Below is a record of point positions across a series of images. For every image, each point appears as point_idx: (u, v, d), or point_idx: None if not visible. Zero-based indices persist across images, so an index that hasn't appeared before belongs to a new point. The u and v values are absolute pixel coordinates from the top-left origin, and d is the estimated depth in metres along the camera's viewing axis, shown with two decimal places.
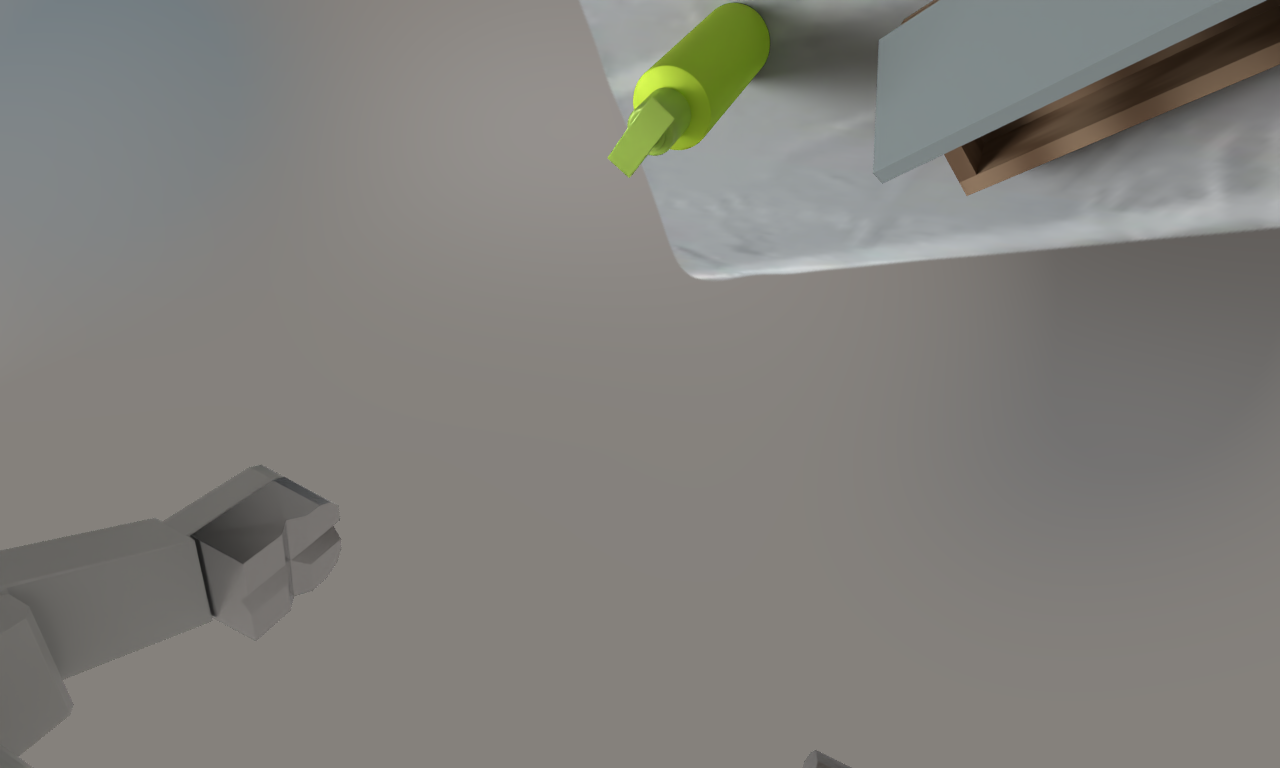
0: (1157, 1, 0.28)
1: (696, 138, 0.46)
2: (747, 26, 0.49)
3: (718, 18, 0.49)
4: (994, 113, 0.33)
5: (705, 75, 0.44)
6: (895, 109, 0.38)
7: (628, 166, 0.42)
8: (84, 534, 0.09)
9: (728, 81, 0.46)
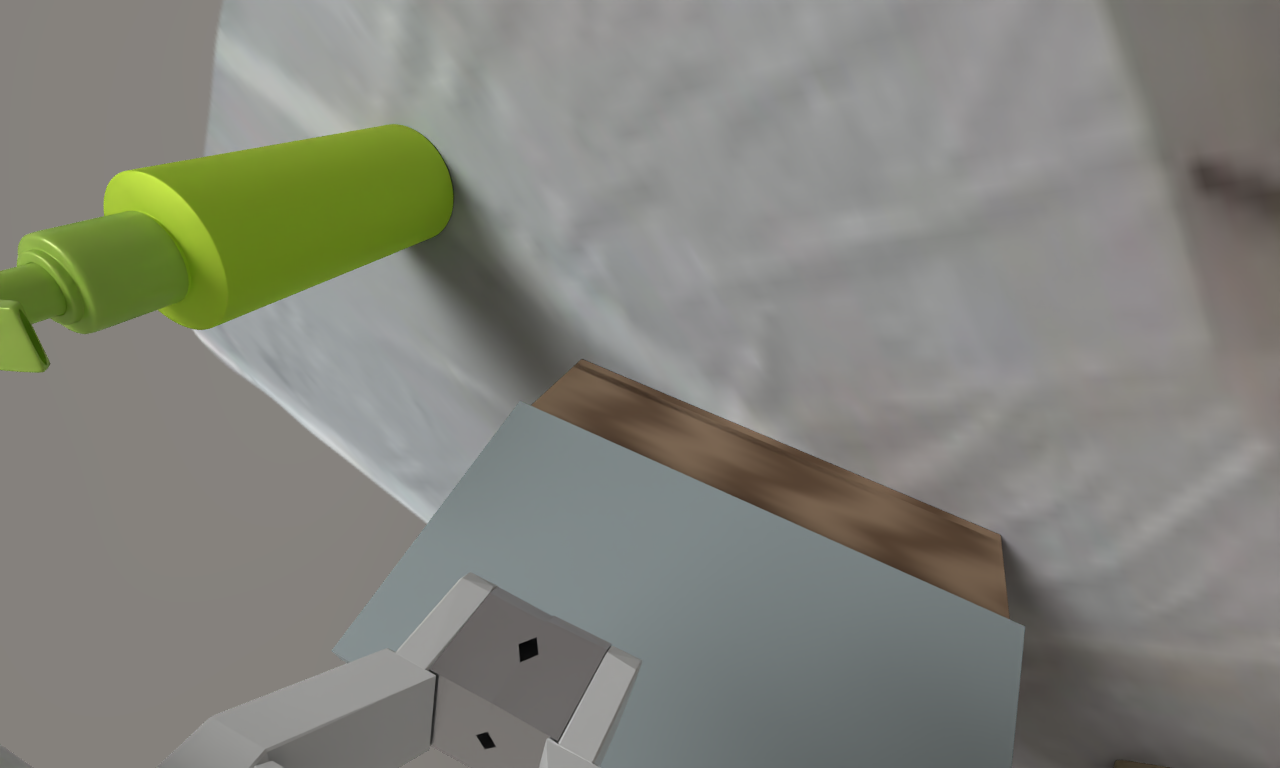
0: None
1: (182, 320, 0.25)
2: (417, 203, 0.31)
3: (384, 161, 0.29)
4: None
5: (253, 264, 0.24)
6: (440, 558, 0.24)
7: None
8: (324, 674, 0.08)
9: (308, 276, 0.27)
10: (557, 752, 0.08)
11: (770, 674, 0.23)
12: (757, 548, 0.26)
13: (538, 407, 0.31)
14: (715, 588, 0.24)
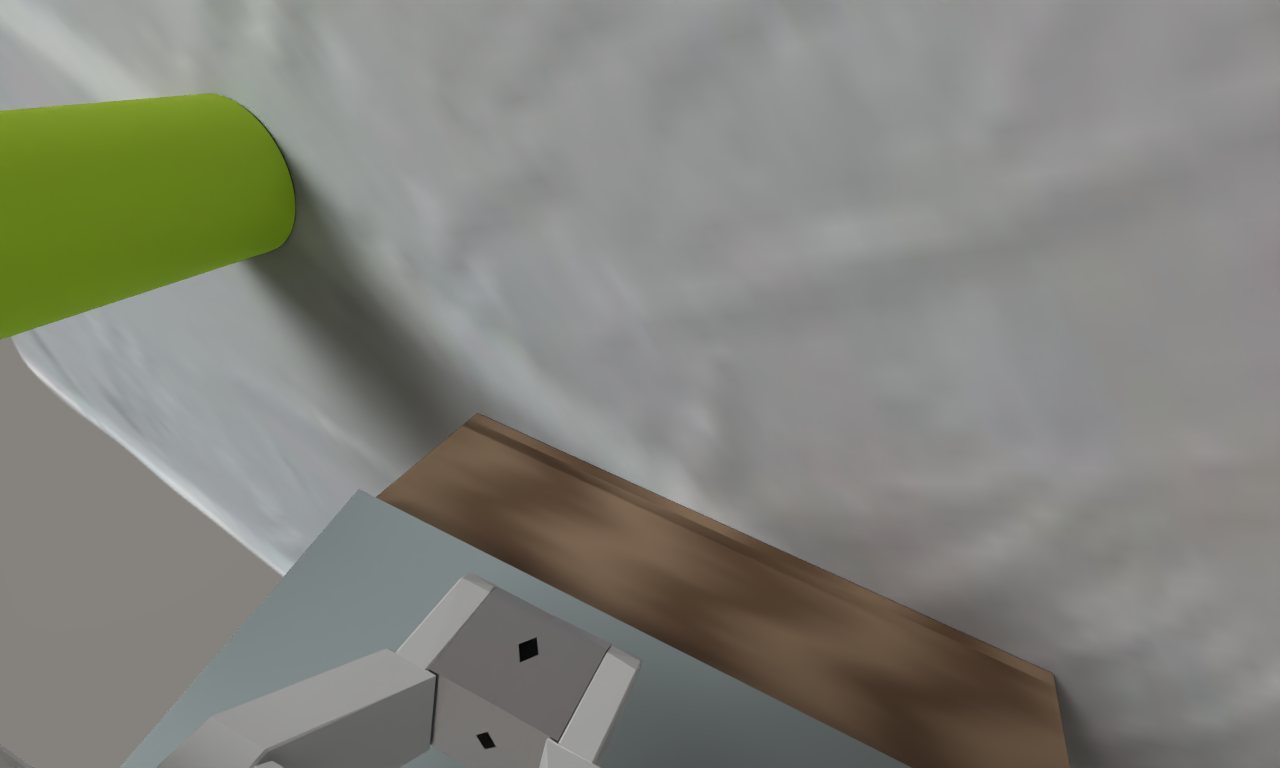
0: None
1: None
2: (225, 203, 0.22)
3: (165, 141, 0.20)
4: None
5: None
6: None
7: None
8: (324, 675, 0.08)
9: (13, 312, 0.17)
10: (557, 752, 0.08)
11: None
12: (694, 734, 0.17)
13: (395, 492, 0.21)
14: None
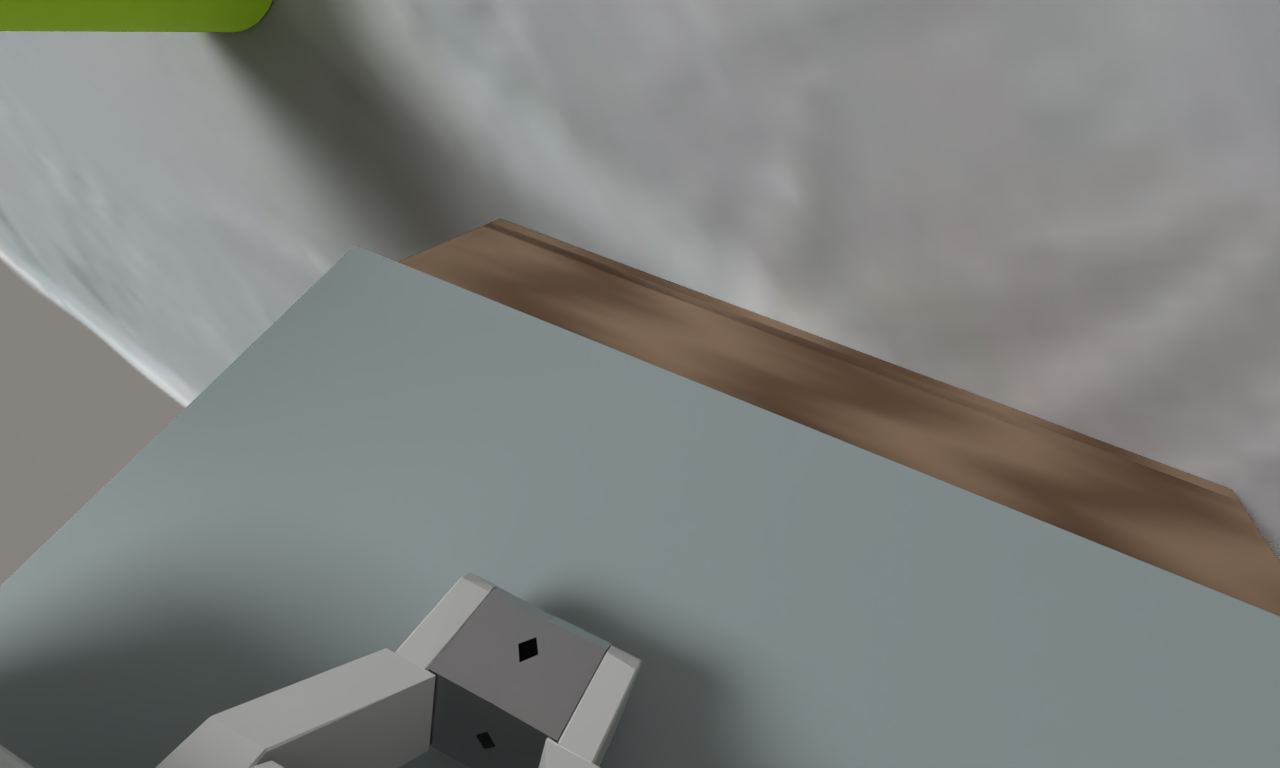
0: None
1: None
2: None
3: None
4: None
5: None
6: (128, 545, 0.11)
7: None
8: (324, 675, 0.08)
9: None
10: (557, 752, 0.08)
11: None
12: (810, 509, 0.12)
13: None
14: (725, 598, 0.11)
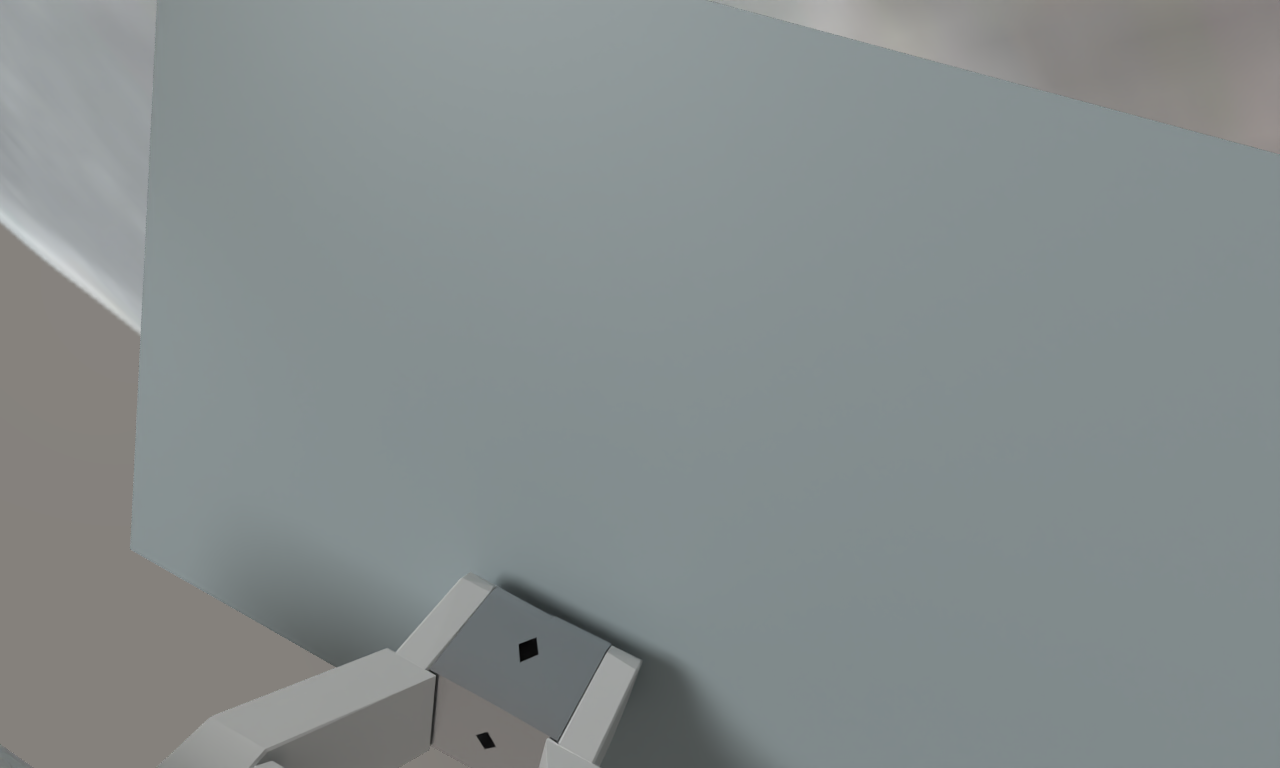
0: None
1: None
2: None
3: None
4: None
5: None
6: (194, 377, 0.11)
7: None
8: (324, 675, 0.08)
9: None
10: (557, 752, 0.08)
11: (962, 625, 0.08)
12: (958, 250, 0.07)
13: None
14: (807, 400, 0.08)
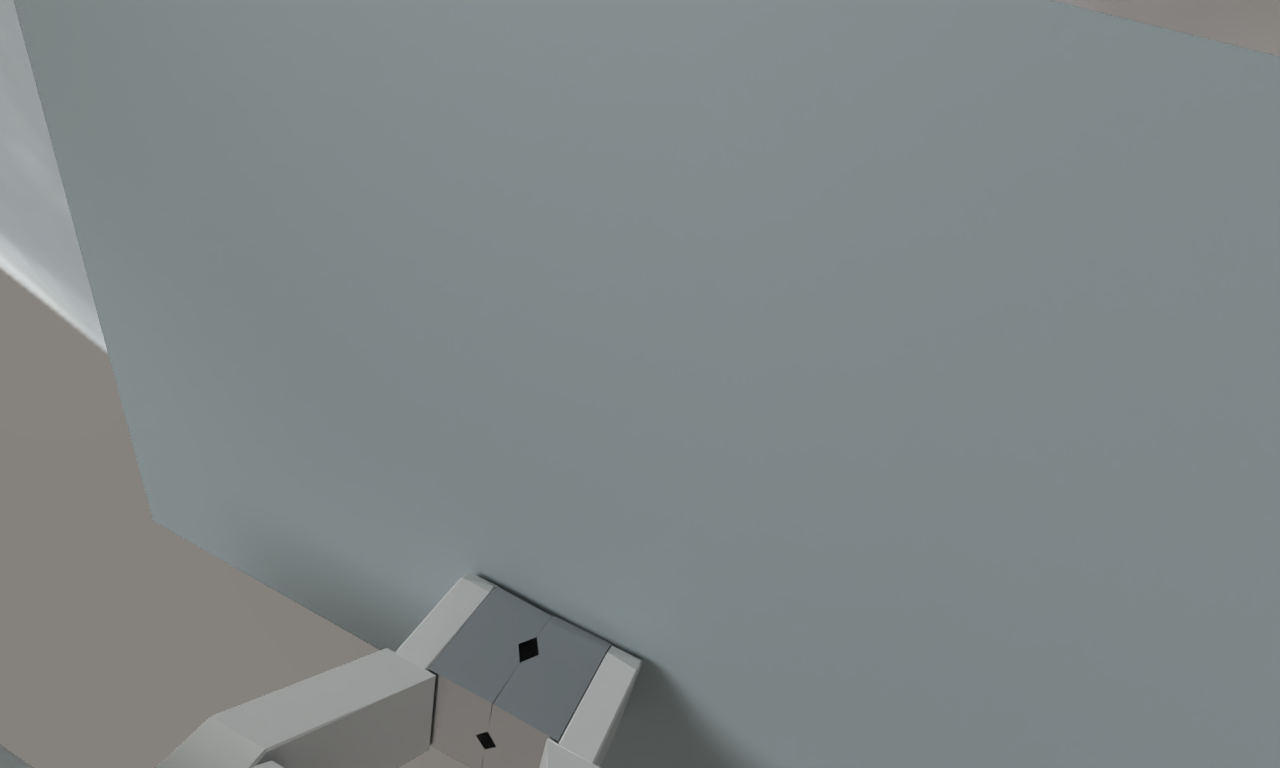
0: None
1: None
2: None
3: None
4: None
5: None
6: (161, 369, 0.11)
7: None
8: (324, 675, 0.08)
9: None
10: (557, 752, 0.08)
11: (983, 668, 0.07)
12: (998, 254, 0.05)
13: None
14: (800, 426, 0.07)
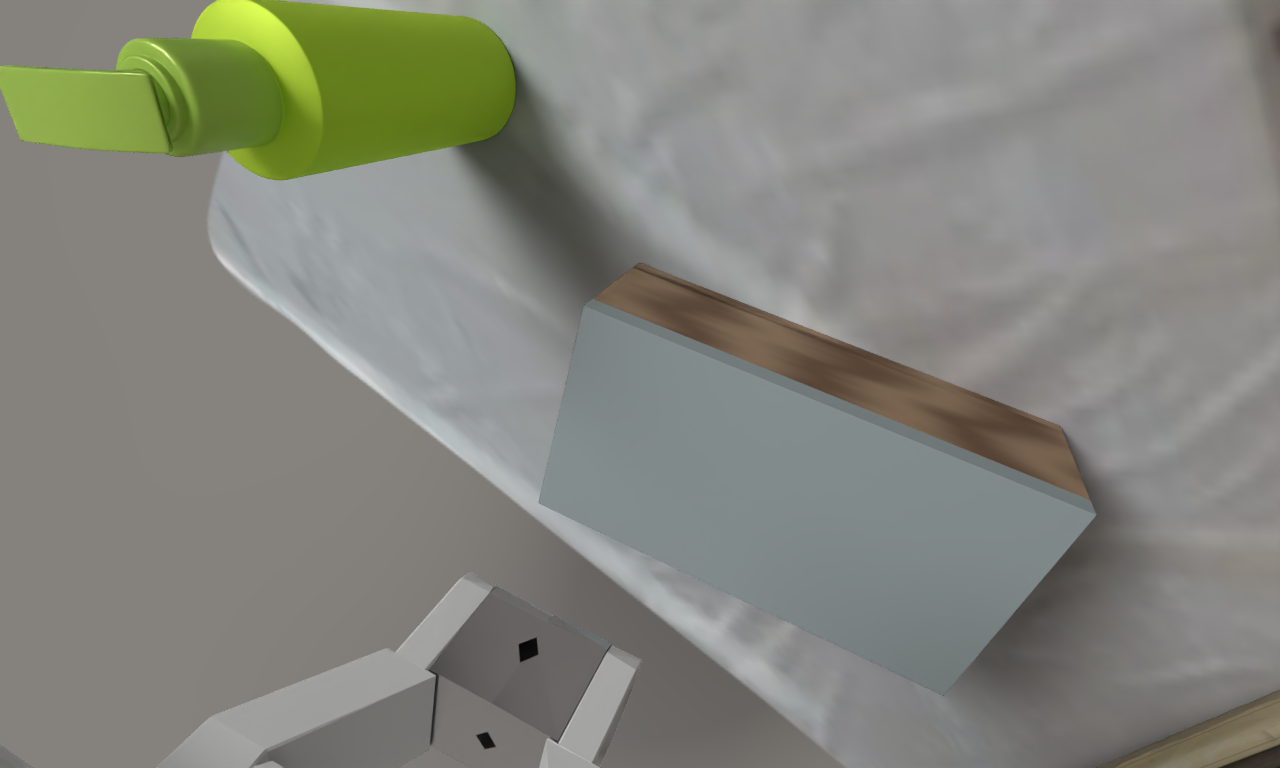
0: (788, 590, 0.32)
1: (265, 170, 0.24)
2: (486, 89, 0.31)
3: (458, 40, 0.29)
4: (650, 553, 0.34)
5: (346, 107, 0.23)
6: (575, 450, 0.33)
7: (27, 124, 0.18)
8: (324, 675, 0.08)
9: (388, 139, 0.26)
10: (557, 752, 0.08)
11: (830, 533, 0.29)
12: (825, 443, 0.28)
13: (607, 295, 0.30)
14: (786, 474, 0.29)
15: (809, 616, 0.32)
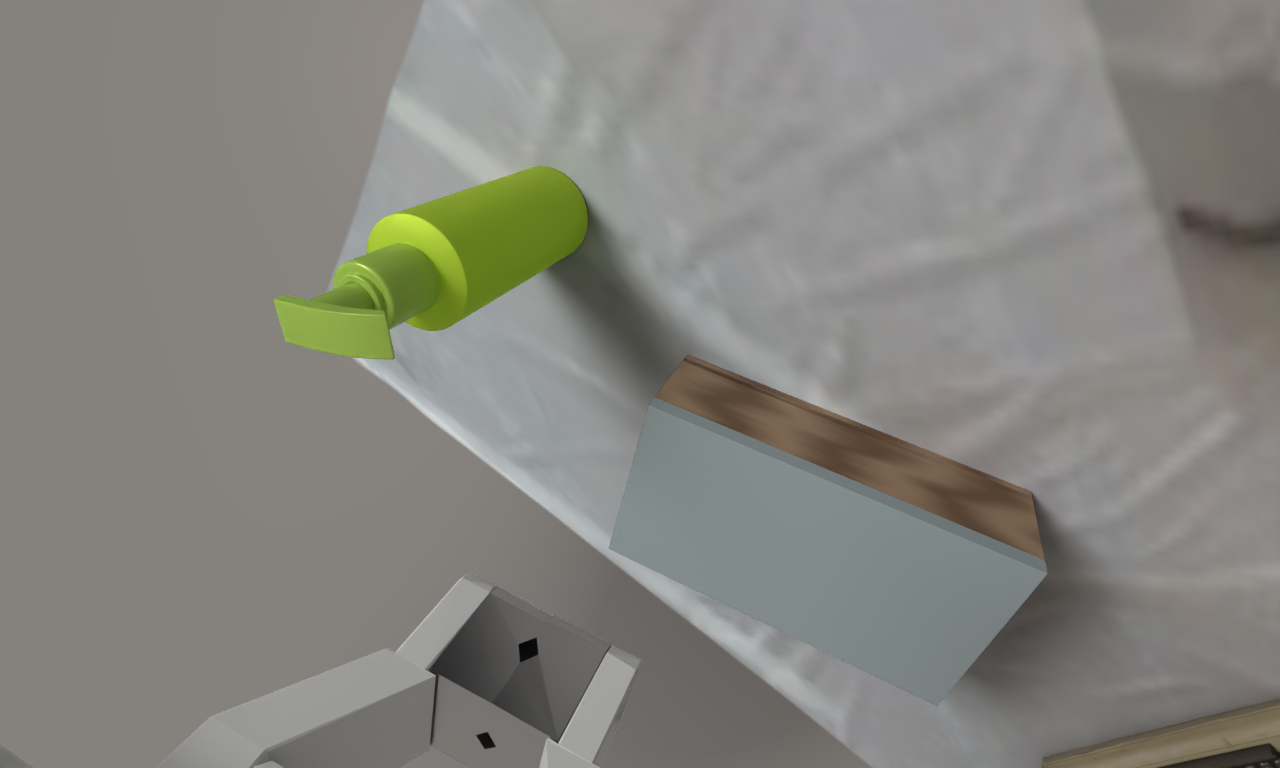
0: (811, 622, 0.40)
1: (419, 324, 0.33)
2: (567, 231, 0.39)
3: (548, 198, 0.38)
4: (700, 590, 0.42)
5: (481, 281, 0.32)
6: (640, 510, 0.41)
7: (294, 334, 0.26)
8: (325, 674, 0.08)
9: (503, 290, 0.35)
10: (557, 752, 0.08)
11: (844, 580, 0.37)
12: (838, 513, 0.36)
13: (665, 392, 0.39)
14: (809, 535, 0.37)
15: (828, 642, 0.40)
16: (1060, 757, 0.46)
